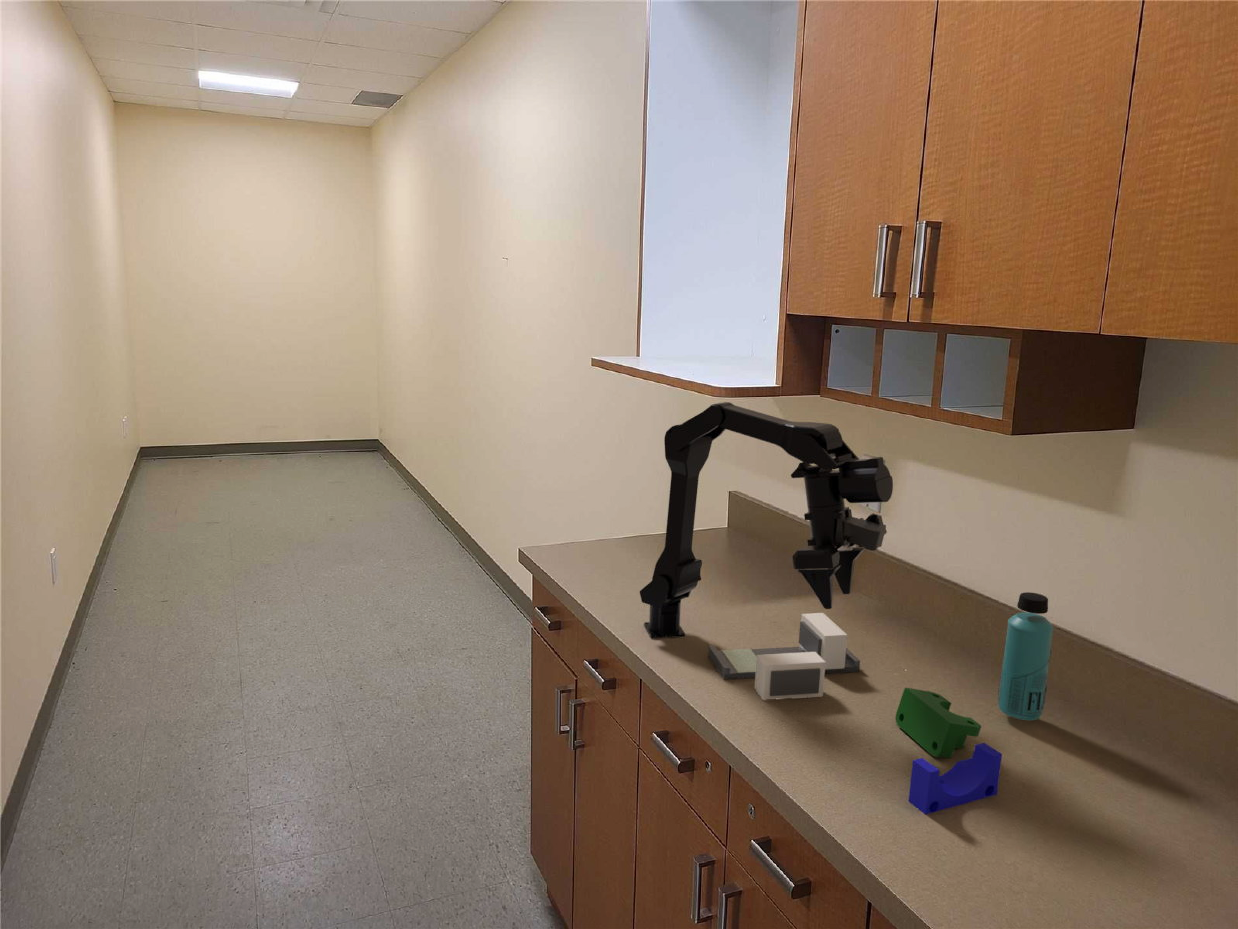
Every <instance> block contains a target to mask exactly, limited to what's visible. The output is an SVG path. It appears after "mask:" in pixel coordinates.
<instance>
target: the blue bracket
mask: <svg viewBox="0 0 1238 929" xmlns="http://www.w3.org/2000/svg"><path fill="white" fill-rule="evenodd" d="M1002 757H1003V753H1002V752H1000V751H999V750H997V749H995V748H993V747H992V746H990V745H988V744H987V743H986V742H981V743H978V744H977V743H976V744H975V745H974V750H973V754H972V756H971V757H970V758H966V759H962V760H959V761H957V762H956V763H955V765H954V766H952V767H951V768H950V769H949V770H948V771H946V772H945V773H943V774H941V775H940V769H939V768H937V767H936V766H934V765H933V764H931V763H930V762H929V761H927V760H926V759H925V758H923V757H921V758H916V759H913V760H912V767H911V774H910V775H911V776H910V784H909V794H908V802H909V803H910V804H911V805H912V804H913V805H912V806H914V807H915V808H916V809H917V808H918V809H917V810H918V811H920V812H921V813H923V814H924V816H926V815H930V814H933V813H936V811H937V812H940V811H943V810H947V809H950V808H954V807H958V806H961V805H966V804H968V803H971V802H975V801H978V800H979V801H980V800H982V799H986V798H989V797H994V796H997V795H998V788H999V787H998V786H999V780H1000V771H1001V764H1002Z"/></svg>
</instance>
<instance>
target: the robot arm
mask: <svg viewBox="0 0 1238 929" xmlns="http://www.w3.org/2000/svg"><path fill="white" fill-rule="evenodd" d="M726 430H727V431H731V432H733V433H737V434H739V435H744V436H746V437H750V438H754V439H756V440H758V441H759V440H760V441H763V442H766V443H769V444H772V445H775V446H777V447H779V448H781V449H782V450H783V451H784V452H785V453H786V454H788V455H789V456H790V457H793V458H794V459H796V460H799V461H801V462H799V463H798V466H797V467H796V469H795V470H794V471H792V473H791V474H790V478H791V479H801V478H802V479H803V480H804V481H803V482H804V490H805V496H806V504H807V512H806V513H804V514H803V516H804V521H808V522H809V529H810V530H809V531H810V537H809V538H808V539H807V541H806V542H807V545H804V546H803V547H800V548H799V549H797V550H796V552H795V553H794V554H793V555H792V557H791V558H792V564H793V569H794V570H797V571H798V573H799V574H801V575H802V576H803V578H804V579H805V581H806V582H807V584H808V586H809V587H810V588H811V590H812V591H813V594H815V596H816V597H817V599H818V600H819V602H820V604H821V605H822V607H823V608H824V610H831V609H833V596H834V595H833V591H834V590H833V587H834V582H833V581H834V577H835V579H836V581H837V583H838V586H839V588H840V591H841V593H842V594H843V595H849V594H851V590H852V583H853V576H854V570H855V569H854V568H855V562H856V561H857V560H856V559H857V558H858V557H859V556H860V555H861V554H862V553H863V552H864V551H865V550H868V551H872V552H874V551H875V552H876V551H877V550H878V549H879V548H881V547H882V545H883V540H884V537H885V535H886V534H887V533H888V531H887V525H886V524H884V520H883V516H882V515H880V514H877V513H870V514H869V515H868V516H867V517H866V518H865V519H864V518H863V517H861V518H859V517H854V516H853V514H852V513H853V512H852V509H851V508H850V507H849V506H846V505H845V500H846V501H847V502H848V503H849V504H861V503H862V504H867V503H871V504H872V503H887V502H889V501H890V500H891V499H892V495H893V491H894V490H893V489H894V482H893V476H892V475H891V473H890V470H889V468H888V467H887V466H886V465H885V463H884V457H882V456H875V457H871V458H865V459H860V458H859V457H858V456H857V455H856V454H855V452H854V451H853V450H852V449H851V448H850V446H848V445H847V443H846V442H845V441H844V440H843V437H842V434H841V432H840V430H839V428H838V427H836V425H835V424H831V423H825V422H823V423H822V422H813V421H812V422H811V421H790V420H787V419H783V418H780V417H776V416H773V415H770V414H766V413H763V412H759V411H755V410H751V409H749V408H745V407H742V406H738V405H735V404H733V403H732V402H730V401H729V402H727V401H723V402H719V403H718V402H717V403H713V404H710V405H709V406H708V407H707V408H706V409H705V410H703V411H701V412H700V413H698V414H696V415H694V416H693V417H691V418H689V419H687V420H685V421H684V422H682V423H680V424H675V425H672V426H671V427H670V428H668V430H666V431H665V434H664V441H663V442H664V457H665V460H666V462H667V465H668V468H669V470H670V475H671V476H670V486H669V496H668V497H669V498H668V506H667V507H668V508H667V517H666V530H665V538H664V539H665V540H664V541H665V542H664V547H663V550H662V551H661V554H660V555H659V556H658V559H657V561H656V563H655V565H654V569H653V573H652V577H651V581H650V582H649V583H647V584H646V585H645V586H644V587H643V588H641V589H640V590H639V595H640V600H641V603H644V604H646V605H649V617H648V618H649V620H648V622H647V621H646V622H643V626H644V628H645V630H646V632H647V634H648V635H649V637H650V638H652V639H657V638H659V639H660V638H681V637H685V636H686V632H685V631H684V630H683V628H682V627H681V608H682V607H681V603H682V600H684V599H687V598H689V596H690V595H691V592H692V590H694V589H696V587H697V586H698V583H699V582H700V581H702V577H701V569H702V566H703V561H702V559H696V556H695V555H694V552H693V538H694V528H695V518H696V510H697V509H696V507H697V497H698V487H699V478H700V477H699V476H700V473H701V471H702V470H703V468H704V466H705V464H706V462H707V461H708V459H709V456H710V451H711V449H712V444H713V441H714V440H716V439H718V437H720V436H722V434H723V433H724V432H725V431H726ZM813 464H814V465H813Z"/></svg>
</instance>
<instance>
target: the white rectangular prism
mask: <svg viewBox="0 0 1238 929" xmlns="http://www.w3.org/2000/svg"><path fill="white" fill-rule="evenodd" d="M825 663H826V662H825V661H824V660H823V659H822V658H821V657H820V656H819V655H818V654H817V653H816V652H801V653H782V654H764V655H757V659H756V674H755V678H754V690H755V689H756V690H755V691H756V693H757V692H758V693H757V694H758V696H759V695H760V696H761V697H760V696H759V697H760V698H761V700H762V699H763V700H762V701H765V700H764V699H776V698H779V699H778V700H781V699H780V698H792V699H804V698H805V699H806V698H807V697H808V698H817V697H818V698H820V697H822V696H823V697H824V688H825V687H824V685H825V675H826V674H825ZM776 700H777V699H776Z"/></svg>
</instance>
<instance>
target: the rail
mask: <svg viewBox="0 0 1238 929" xmlns="http://www.w3.org/2000/svg"><path fill="white" fill-rule="evenodd" d="M801 652H805V651H804V650H803V649H802V648H801V647H800V646H787V647H786V646H785V647H768V648H766V647H765V648H737V649H736V648H735V649H722V650H718V649H717V648H716V646H715V645H708V653H707V654H708V657H707V658H708V659H709V660H710V662H711V663H712V665H713V666H714V667H715V669H716V670H717V672H718V674H719V675H720V676H721V678H722V680H735V679H734V678H740V679H755V674H756V659H757V655H764V654H782V653H801ZM860 664H861V659H859V658H858V657H857V655H855V654H854V653H852V651H850V650H849V648H847V647H846V656H845V667H844V668H841V669H825V675H827V674H837V673H838V674H839V673H840V674H841V673H843V674H844V673H855V672H856V673H859V672H860V666H861V665H860Z"/></svg>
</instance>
